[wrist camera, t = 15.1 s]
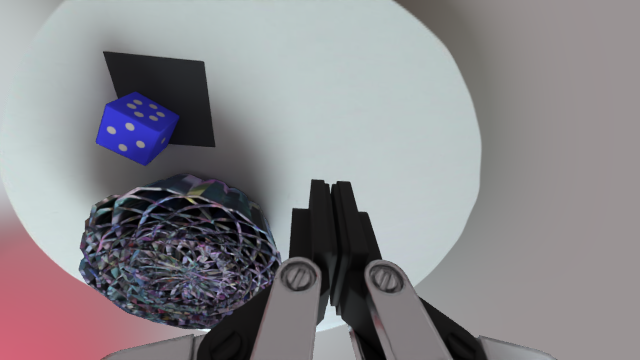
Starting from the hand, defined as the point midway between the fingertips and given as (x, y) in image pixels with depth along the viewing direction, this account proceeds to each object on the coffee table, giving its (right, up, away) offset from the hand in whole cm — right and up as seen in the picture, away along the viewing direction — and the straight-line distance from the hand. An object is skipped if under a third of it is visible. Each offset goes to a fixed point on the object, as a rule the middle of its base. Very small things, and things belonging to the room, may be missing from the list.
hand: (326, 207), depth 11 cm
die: (-20, +8, +19) cm, 29 cm away
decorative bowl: (-18, -7, +29) cm, 35 cm away
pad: (-18, +10, +18) cm, 27 cm away
